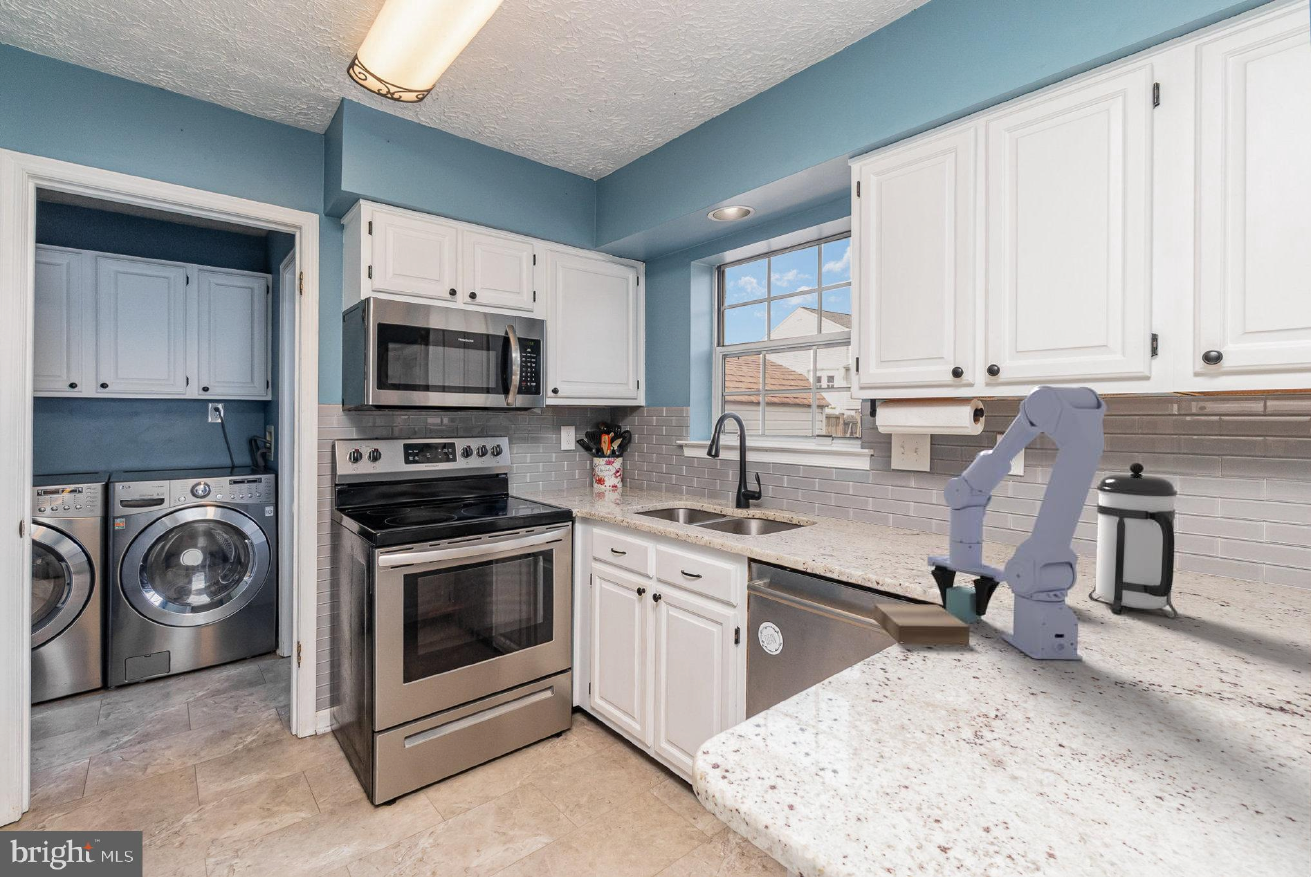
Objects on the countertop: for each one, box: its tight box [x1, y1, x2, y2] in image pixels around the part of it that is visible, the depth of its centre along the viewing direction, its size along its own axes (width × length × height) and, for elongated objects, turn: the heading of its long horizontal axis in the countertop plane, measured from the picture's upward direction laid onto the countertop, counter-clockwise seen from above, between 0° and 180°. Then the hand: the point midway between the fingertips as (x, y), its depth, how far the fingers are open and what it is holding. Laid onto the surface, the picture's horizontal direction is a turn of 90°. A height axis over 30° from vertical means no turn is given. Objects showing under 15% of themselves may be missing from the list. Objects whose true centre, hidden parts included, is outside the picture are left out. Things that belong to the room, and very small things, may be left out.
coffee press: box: [1088, 462, 1179, 619], centre depth 122 cm, size 17×16×30 cm
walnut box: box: [873, 603, 970, 645], centre depth 109 cm, size 12×12×4 cm
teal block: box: [945, 584, 982, 624], centre depth 117 cm, size 4×4×6 cm
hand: (963, 610), depth 117 cm, fingers open, 6 cm apart
